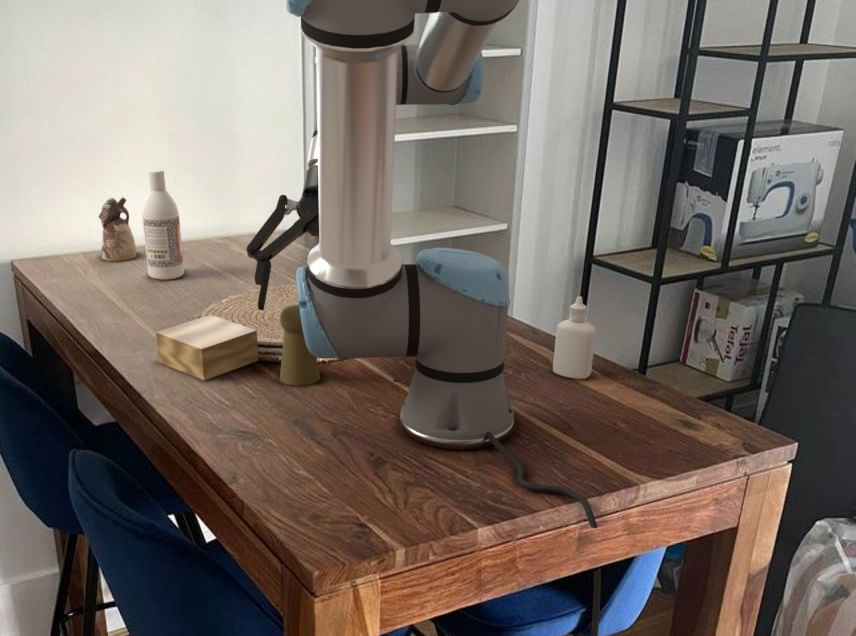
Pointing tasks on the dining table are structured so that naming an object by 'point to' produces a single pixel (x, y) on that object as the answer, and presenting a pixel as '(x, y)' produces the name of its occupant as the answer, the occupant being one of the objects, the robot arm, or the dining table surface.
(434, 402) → the robot arm
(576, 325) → the eye dropper bottle
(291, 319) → the olive green peg figure
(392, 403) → the dining table surface
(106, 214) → the figurine
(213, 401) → the dining table surface
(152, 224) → the bath foam
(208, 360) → the riser block
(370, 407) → the dining table surface
